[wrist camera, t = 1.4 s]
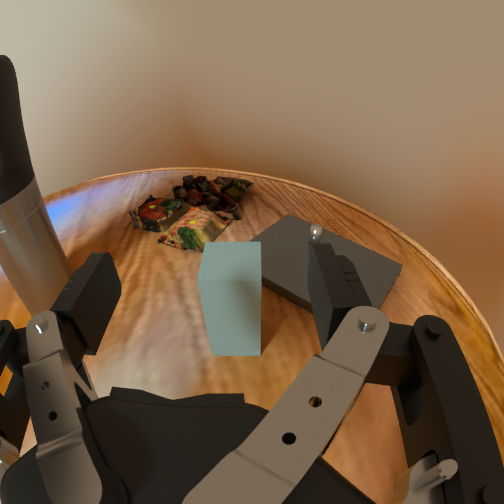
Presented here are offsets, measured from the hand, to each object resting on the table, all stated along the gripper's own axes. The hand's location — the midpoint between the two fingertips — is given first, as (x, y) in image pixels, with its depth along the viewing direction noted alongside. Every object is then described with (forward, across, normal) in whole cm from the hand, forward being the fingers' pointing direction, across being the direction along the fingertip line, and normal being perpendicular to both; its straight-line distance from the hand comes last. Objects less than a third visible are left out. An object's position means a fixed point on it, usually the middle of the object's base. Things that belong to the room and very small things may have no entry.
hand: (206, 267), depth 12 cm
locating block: (+12, 0, +18) cm, 22 cm away
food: (+40, +8, +16) cm, 44 cm away
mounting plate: (+23, -10, +18) cm, 31 cm away
